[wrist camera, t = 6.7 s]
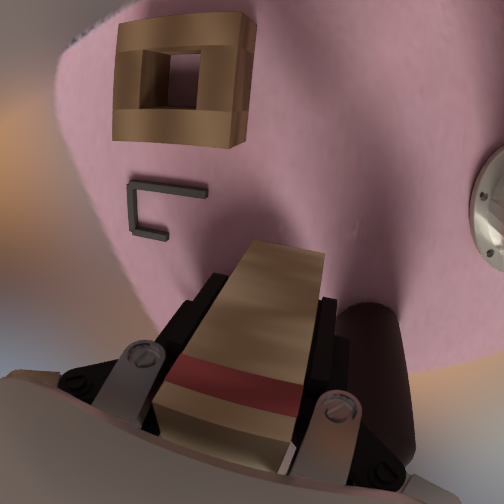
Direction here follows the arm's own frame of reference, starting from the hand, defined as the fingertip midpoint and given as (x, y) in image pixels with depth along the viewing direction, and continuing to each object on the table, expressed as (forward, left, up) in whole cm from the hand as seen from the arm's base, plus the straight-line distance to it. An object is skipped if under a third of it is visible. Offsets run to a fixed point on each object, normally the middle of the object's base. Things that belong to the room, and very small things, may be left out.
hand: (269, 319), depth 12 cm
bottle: (-8, +12, -16) cm, 22 cm away
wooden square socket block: (+11, -9, -16) cm, 21 cm away
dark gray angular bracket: (+13, +4, -16) cm, 21 cm away
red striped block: (0, 0, -3) cm, 3 cm away
